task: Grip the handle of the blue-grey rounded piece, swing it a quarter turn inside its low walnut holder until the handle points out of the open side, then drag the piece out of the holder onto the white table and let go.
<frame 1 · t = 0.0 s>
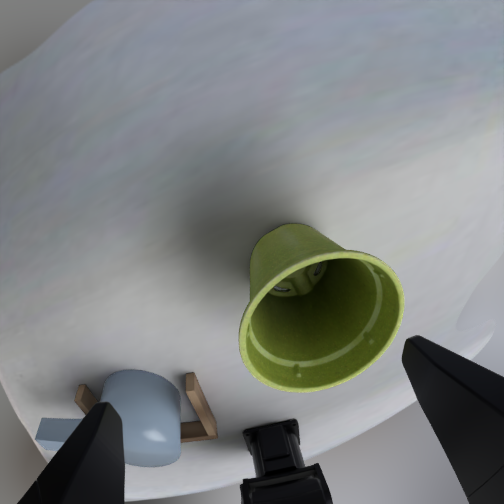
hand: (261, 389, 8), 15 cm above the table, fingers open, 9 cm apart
blue-grey rounded piece: (141, 395, 28), on the table
plant pot: (288, 259, 24), on the table
holder: (141, 396, 28), on the table
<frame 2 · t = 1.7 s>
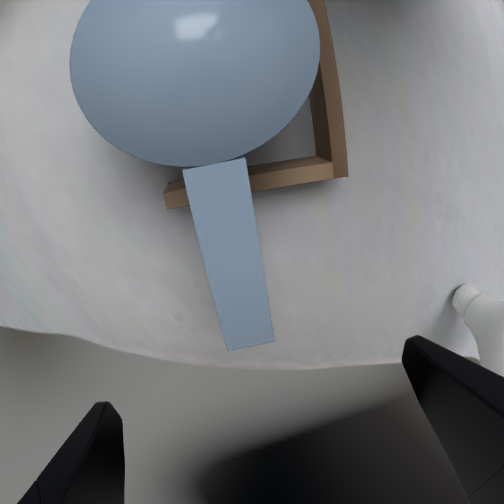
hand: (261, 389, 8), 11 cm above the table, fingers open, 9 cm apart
blue-grey rounded piece: (196, 70, 14), on the table
holder: (196, 70, 13), on the table
lightbulb: (456, 290, 23), on the table
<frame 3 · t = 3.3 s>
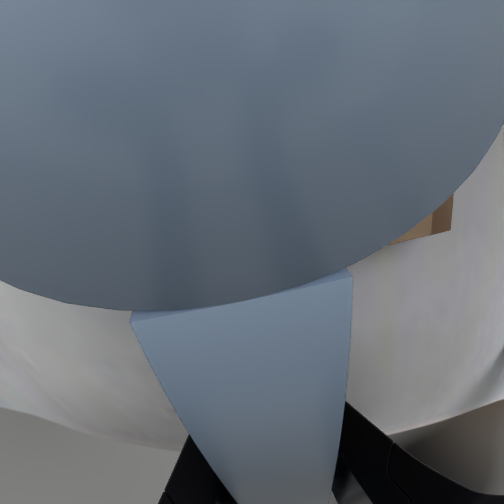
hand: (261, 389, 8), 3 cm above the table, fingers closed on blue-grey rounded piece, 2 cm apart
blue-grey rounded piece: (190, 30, 7), on the table, touching gripper
holder: (190, 30, 7), on the table
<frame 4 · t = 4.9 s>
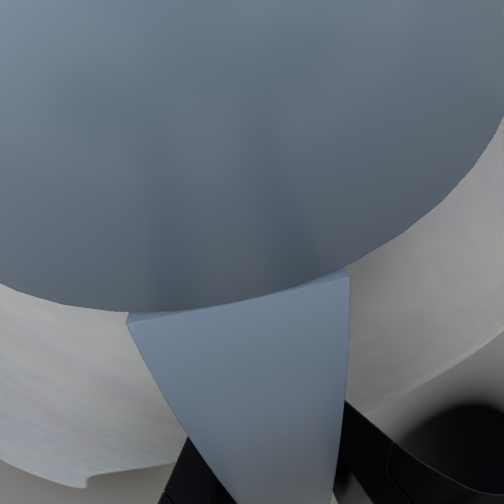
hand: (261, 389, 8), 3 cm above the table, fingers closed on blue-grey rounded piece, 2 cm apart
blue-grey rounded piece: (188, 31, 7), on the table, touching gripper
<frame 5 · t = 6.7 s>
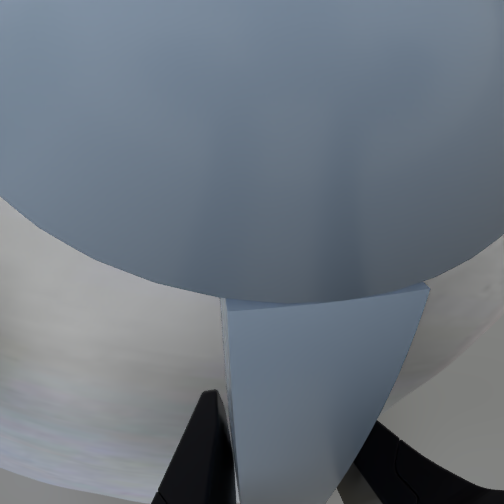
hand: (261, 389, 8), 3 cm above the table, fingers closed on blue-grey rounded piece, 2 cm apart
blue-grey rounded piece: (248, 26, 7), on the table, touching gripper, holder
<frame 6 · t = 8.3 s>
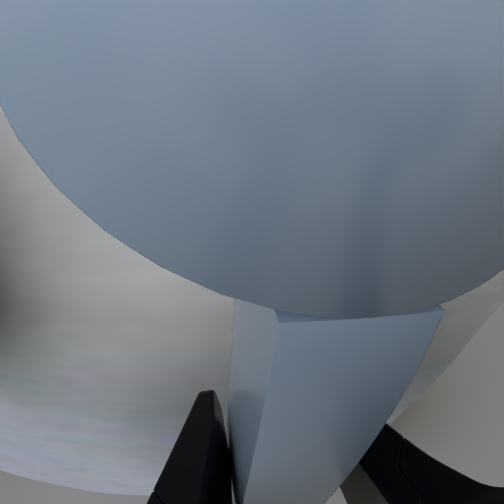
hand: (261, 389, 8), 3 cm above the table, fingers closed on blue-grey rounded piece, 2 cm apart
blue-grey rounded piece: (276, 43, 7), on the table, touching gripper
when the fingers open (3 cm above the table, at t = 9.2 s): blue-grey rounded piece stays where it is, on the table.
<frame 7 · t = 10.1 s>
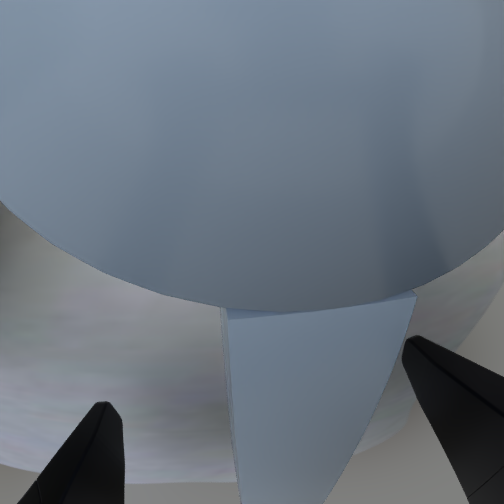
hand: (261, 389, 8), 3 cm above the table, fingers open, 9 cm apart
blue-grey rounded piece: (245, 36, 7), on the table
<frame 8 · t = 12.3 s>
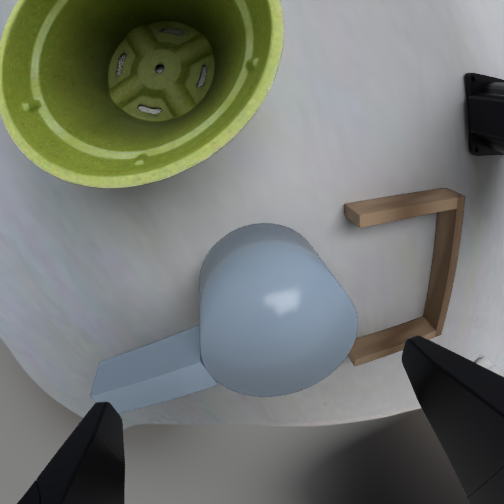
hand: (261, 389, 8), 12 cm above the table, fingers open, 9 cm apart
blue-grey rounded piece: (260, 280, 21), on the table
plant pot: (160, 72, 15), on the table
holder: (376, 279, 22), on the table
lightbulb: (476, 360, 31), on the table
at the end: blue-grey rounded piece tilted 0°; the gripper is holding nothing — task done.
